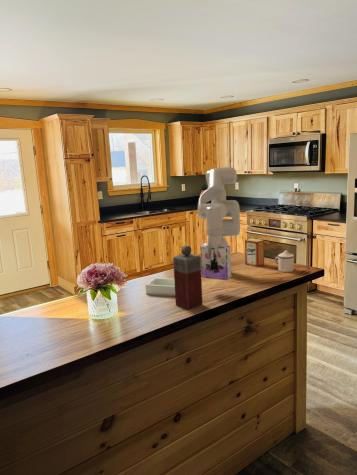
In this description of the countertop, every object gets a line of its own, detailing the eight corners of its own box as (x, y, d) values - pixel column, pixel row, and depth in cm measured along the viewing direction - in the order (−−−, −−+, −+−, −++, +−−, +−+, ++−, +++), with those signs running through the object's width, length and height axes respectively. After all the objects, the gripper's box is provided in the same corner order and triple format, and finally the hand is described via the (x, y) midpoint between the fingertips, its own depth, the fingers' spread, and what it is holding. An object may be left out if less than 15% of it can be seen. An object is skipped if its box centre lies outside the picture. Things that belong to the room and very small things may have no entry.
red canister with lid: (186, 298, 182) (183, 242, 177) (202, 304, 174) (200, 245, 168) (172, 304, 177) (168, 245, 171) (188, 310, 168) (185, 249, 163)
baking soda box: (245, 264, 237) (244, 239, 233) (251, 262, 241) (251, 237, 238) (257, 267, 229) (257, 241, 226) (264, 264, 234) (264, 239, 231)
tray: (155, 286, 203) (154, 277, 202) (190, 288, 196) (190, 279, 195) (146, 294, 192) (145, 284, 191) (183, 296, 185) (183, 287, 184)
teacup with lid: (297, 269, 219) (297, 250, 217) (288, 273, 213) (288, 253, 211) (279, 266, 228) (279, 247, 226) (270, 269, 222) (270, 250, 220)
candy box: (201, 277, 187) (199, 245, 183) (205, 274, 192) (204, 242, 188) (227, 280, 180) (226, 247, 177) (231, 276, 185) (230, 244, 182)
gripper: (211, 227, 190) (212, 262, 194) (202, 235, 174) (204, 272, 178) (226, 228, 188) (227, 262, 192) (218, 235, 172) (219, 273, 176)
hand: (216, 267), depth 185 cm, fingers closed on candy box, 6 cm apart
